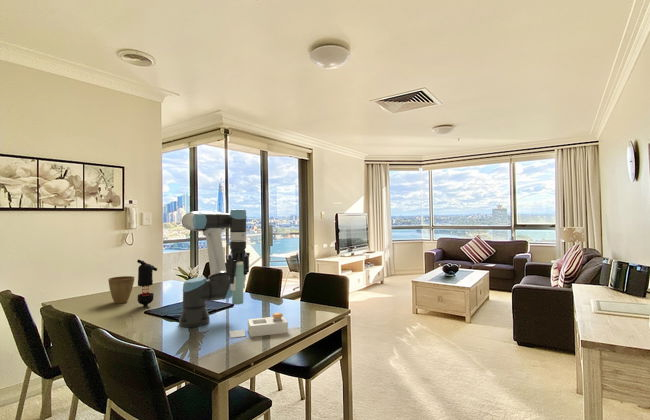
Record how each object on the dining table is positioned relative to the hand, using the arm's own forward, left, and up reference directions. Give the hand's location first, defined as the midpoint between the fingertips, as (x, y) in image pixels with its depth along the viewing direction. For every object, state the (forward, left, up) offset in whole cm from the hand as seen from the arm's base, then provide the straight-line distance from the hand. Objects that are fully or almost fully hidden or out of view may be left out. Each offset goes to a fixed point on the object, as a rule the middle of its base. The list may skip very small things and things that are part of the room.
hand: (237, 289), depth 160 cm
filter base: (+14, 0, -22) cm, 26 cm away
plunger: (+19, 0, -18) cm, 27 cm away
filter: (-51, +70, -22) cm, 89 cm away
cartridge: (0, 0, -7) cm, 7 cm away
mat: (0, 0, -22) cm, 22 cm away
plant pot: (-69, +86, -22) cm, 112 cm away
